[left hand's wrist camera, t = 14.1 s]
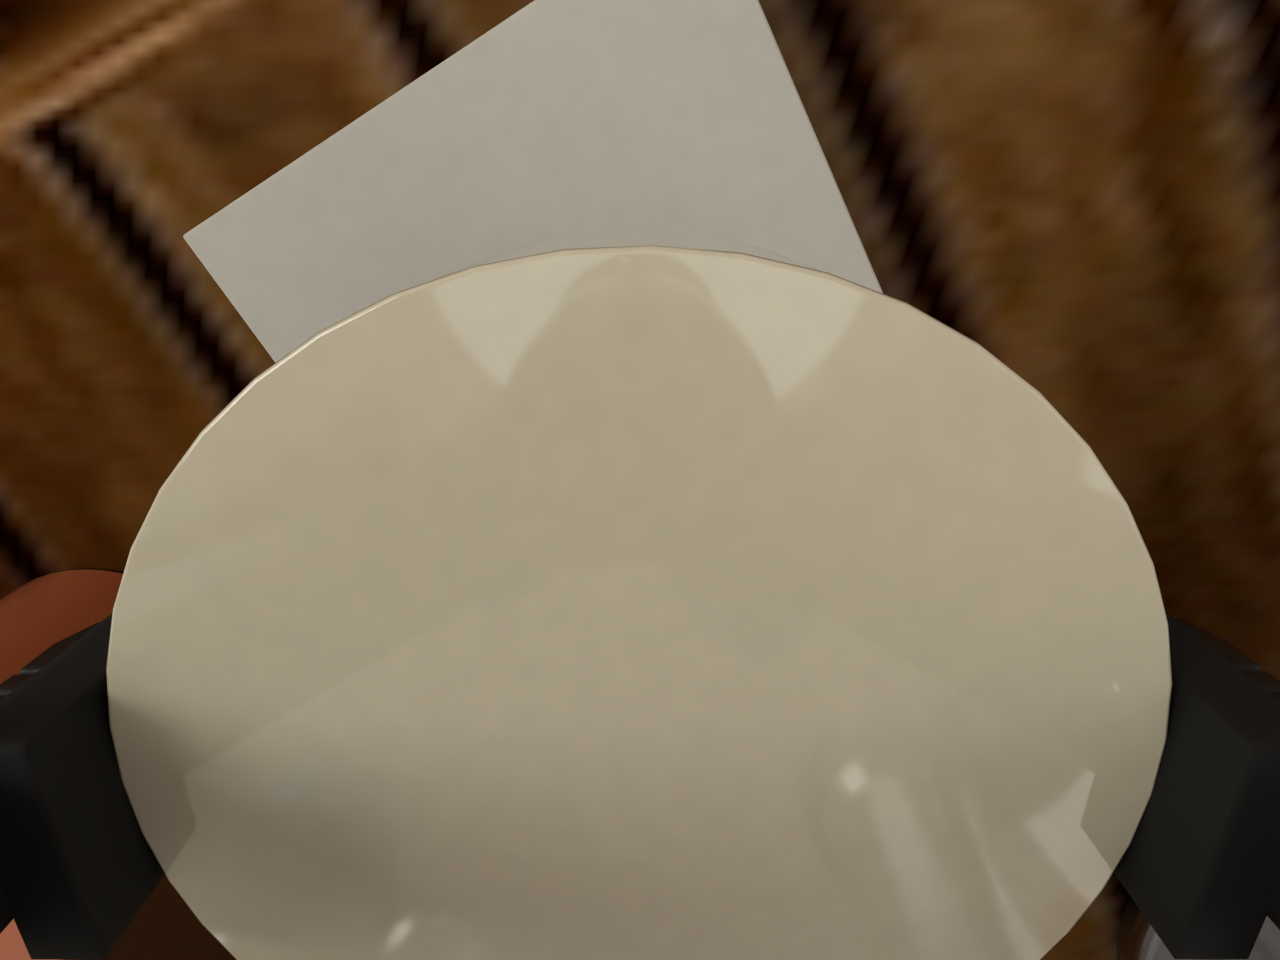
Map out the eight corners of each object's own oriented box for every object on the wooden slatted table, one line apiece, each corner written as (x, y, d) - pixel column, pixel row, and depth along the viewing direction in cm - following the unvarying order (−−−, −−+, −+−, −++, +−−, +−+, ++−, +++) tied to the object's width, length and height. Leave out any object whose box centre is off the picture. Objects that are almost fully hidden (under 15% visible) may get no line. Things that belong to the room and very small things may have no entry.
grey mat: (1013, 615, 22) (1027, 629, 21) (605, 792, 24) (604, 811, 23) (705, -102, 15) (709, -118, 15) (200, 234, 18) (180, 235, 17)
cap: (1100, 727, 12) (1278, 930, 8) (525, 958, 14) (490, 1196, 10) (827, 46, 8) (949, -55, 5) (107, 481, 10) (-143, 614, 7)
